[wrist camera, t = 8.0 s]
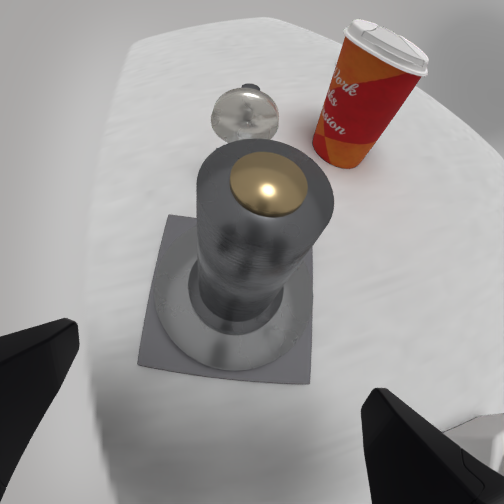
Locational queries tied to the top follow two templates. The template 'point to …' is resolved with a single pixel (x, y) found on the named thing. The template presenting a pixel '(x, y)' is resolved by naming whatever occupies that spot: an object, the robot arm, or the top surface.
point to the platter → (218, 344)
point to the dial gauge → (245, 115)
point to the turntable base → (174, 359)
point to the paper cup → (366, 91)
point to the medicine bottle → (482, 439)
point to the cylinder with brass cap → (253, 230)
